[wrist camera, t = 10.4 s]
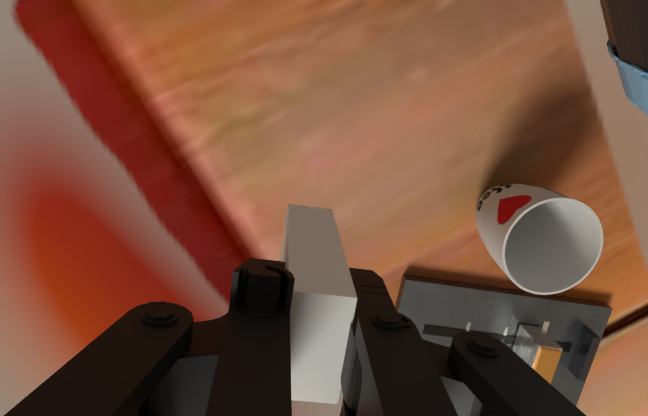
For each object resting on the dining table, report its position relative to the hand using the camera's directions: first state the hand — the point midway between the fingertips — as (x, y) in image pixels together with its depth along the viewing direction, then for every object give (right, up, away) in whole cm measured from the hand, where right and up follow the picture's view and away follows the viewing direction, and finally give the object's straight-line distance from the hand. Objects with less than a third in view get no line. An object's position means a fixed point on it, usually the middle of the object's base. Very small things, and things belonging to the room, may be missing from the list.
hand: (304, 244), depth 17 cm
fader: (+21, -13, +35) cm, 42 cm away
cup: (+18, +1, +32) cm, 37 cm away
